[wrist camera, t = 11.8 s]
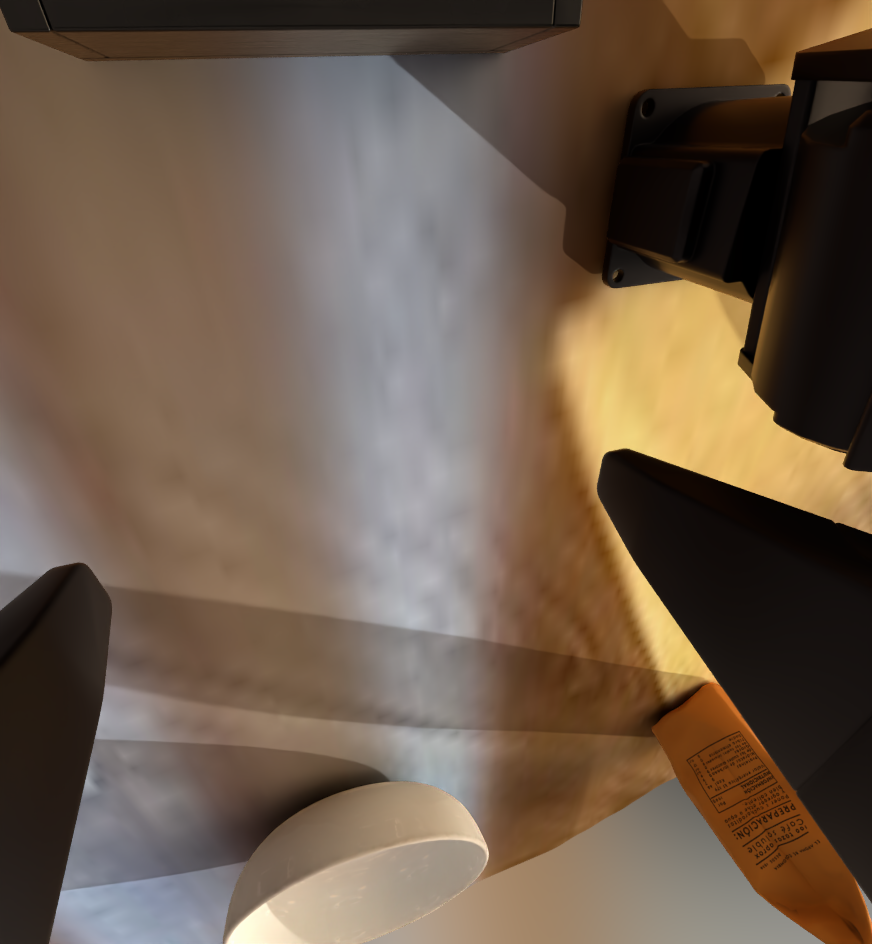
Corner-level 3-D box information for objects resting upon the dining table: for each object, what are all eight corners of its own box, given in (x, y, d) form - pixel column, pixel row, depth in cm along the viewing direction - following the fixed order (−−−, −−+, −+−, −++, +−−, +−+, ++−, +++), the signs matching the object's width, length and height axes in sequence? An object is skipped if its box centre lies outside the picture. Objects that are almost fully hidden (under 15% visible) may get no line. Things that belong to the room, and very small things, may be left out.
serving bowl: (497, 781, 48) (525, 862, 43) (328, 875, 50) (335, 964, 45) (390, 717, 35) (411, 822, 30) (168, 847, 37) (151, 967, 32)
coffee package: (667, 746, 57) (839, 1011, 40) (635, 721, 50) (830, 1033, 32) (740, 703, 55) (951, 959, 38) (719, 669, 48) (969, 970, 31)
